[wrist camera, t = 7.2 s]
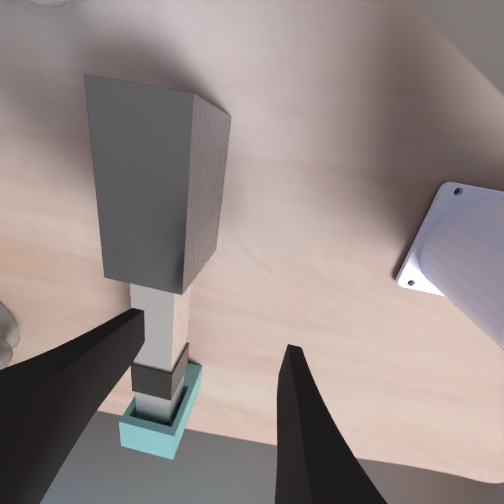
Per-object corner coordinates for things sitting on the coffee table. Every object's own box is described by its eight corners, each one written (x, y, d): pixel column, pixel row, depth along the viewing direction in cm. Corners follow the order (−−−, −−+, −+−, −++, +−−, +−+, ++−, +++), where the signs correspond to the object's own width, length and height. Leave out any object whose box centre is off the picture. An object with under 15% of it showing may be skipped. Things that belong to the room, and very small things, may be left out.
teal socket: (202, 365, 26) (174, 436, 19) (199, 387, 27) (172, 459, 21) (160, 355, 26) (118, 421, 20) (160, 377, 27) (121, 445, 21)
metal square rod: (200, 202, 16) (179, 214, 13) (184, 401, 24) (169, 437, 21) (152, 193, 16) (121, 202, 13) (153, 393, 24) (134, 427, 21)
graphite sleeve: (231, 116, 16) (194, 93, 10) (215, 249, 20) (182, 295, 14) (163, 104, 16) (84, 74, 10) (161, 238, 20) (104, 277, 14)
